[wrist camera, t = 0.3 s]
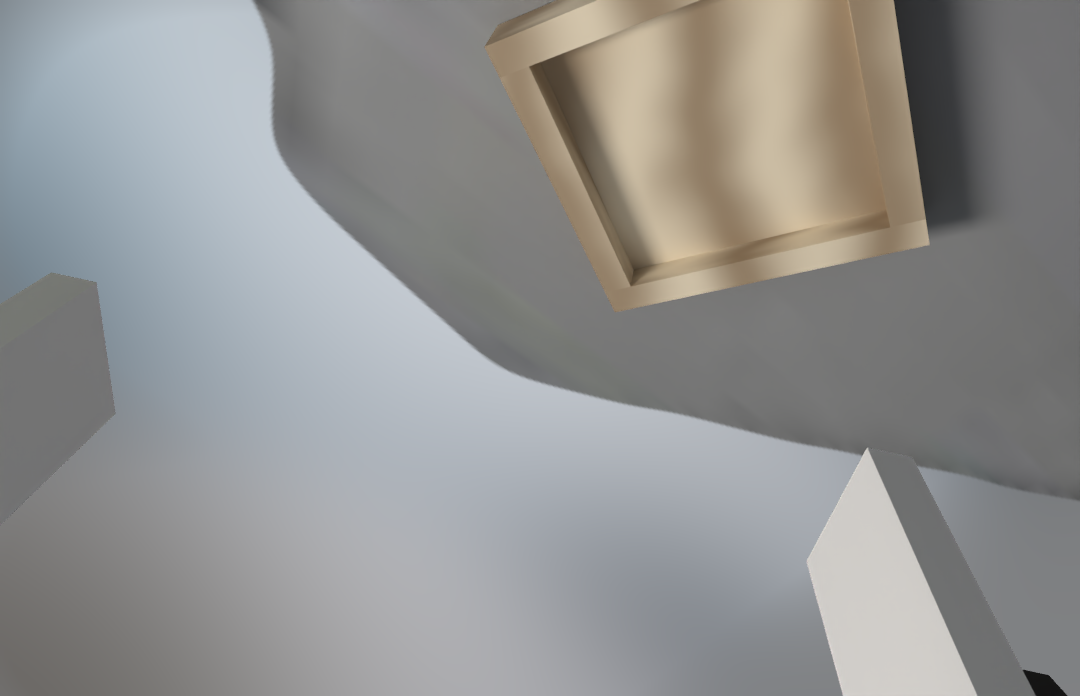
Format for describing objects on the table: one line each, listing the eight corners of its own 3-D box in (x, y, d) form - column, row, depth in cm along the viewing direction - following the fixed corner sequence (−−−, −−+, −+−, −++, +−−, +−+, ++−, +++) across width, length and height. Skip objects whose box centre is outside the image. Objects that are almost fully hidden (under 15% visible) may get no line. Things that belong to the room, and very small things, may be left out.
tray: (868, -132, 27) (876, -116, 26) (920, 215, 37) (929, 244, 35) (498, 25, 34) (484, 46, 33) (620, 284, 43) (614, 312, 42)
